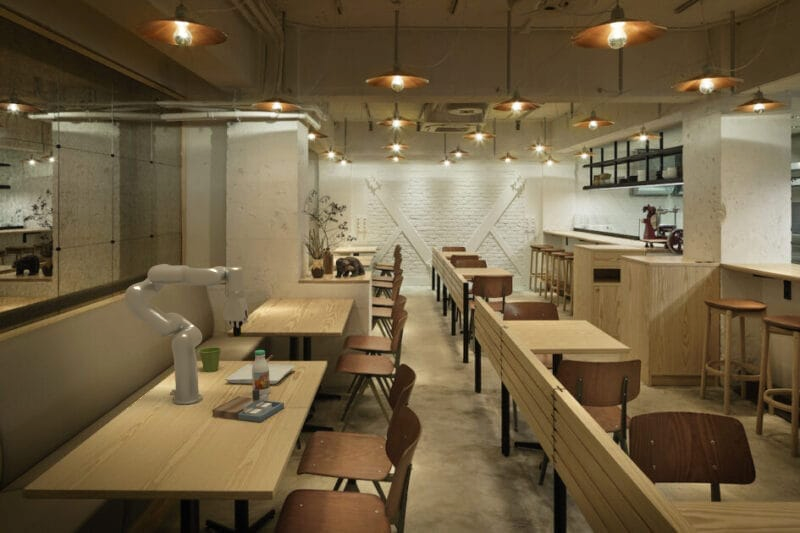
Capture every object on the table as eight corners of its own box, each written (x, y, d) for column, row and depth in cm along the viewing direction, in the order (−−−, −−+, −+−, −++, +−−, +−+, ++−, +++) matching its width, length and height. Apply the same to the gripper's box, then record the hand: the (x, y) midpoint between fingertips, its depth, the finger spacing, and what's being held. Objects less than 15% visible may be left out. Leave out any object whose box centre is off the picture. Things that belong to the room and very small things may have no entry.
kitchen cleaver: (260, 355, 345) (277, 354, 344) (261, 357, 345) (277, 356, 344) (246, 367, 321) (264, 366, 320) (246, 369, 321) (264, 368, 320)
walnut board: (212, 416, 246) (212, 409, 245) (238, 402, 262) (238, 396, 262) (237, 419, 241) (236, 412, 241) (262, 405, 258) (261, 398, 258)
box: (237, 419, 241) (237, 413, 241) (262, 405, 258) (262, 400, 258) (260, 422, 238) (260, 416, 238) (284, 408, 255) (284, 402, 254)
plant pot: (217, 366, 325) (216, 345, 324) (226, 370, 316) (225, 349, 315) (195, 370, 317) (194, 349, 316) (204, 374, 308) (203, 353, 307)
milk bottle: (249, 394, 274) (247, 352, 272) (259, 390, 281) (257, 348, 279) (263, 396, 271) (261, 353, 269) (273, 391, 278) (271, 349, 276)
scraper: (243, 411, 241) (242, 395, 241) (265, 399, 256) (264, 384, 256) (247, 411, 241) (246, 396, 240) (269, 399, 256) (268, 384, 255)
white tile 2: (255, 410, 251) (254, 405, 251) (261, 406, 255) (261, 402, 255) (265, 411, 249) (265, 407, 249) (271, 407, 254) (271, 403, 254)
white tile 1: (244, 417, 243) (244, 412, 243) (251, 412, 248) (251, 408, 248) (255, 418, 241) (255, 413, 241) (262, 414, 246) (261, 409, 246)
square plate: (246, 370, 316) (246, 363, 316) (296, 371, 312) (296, 364, 312) (224, 385, 290) (224, 377, 289) (278, 387, 286) (278, 379, 285)
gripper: (215, 295, 261) (217, 336, 263) (245, 296, 256) (246, 338, 258) (226, 293, 268) (228, 333, 270) (254, 294, 263) (256, 335, 265)
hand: (237, 335), depth 264 cm, fingers closed
